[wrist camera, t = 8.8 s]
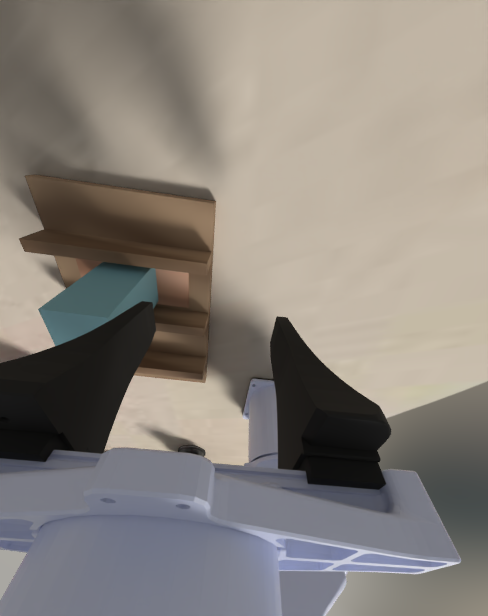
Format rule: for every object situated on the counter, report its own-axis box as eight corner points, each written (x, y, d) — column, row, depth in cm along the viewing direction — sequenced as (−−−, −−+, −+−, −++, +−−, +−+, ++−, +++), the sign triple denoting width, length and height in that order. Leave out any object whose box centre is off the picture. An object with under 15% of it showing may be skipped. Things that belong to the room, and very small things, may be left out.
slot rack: (206, 376, 31) (201, 400, 28) (100, 365, 30) (84, 387, 27) (215, 201, 18) (208, 210, 15) (35, 174, 17) (-8, 179, 15)
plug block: (158, 300, 22) (119, 362, 16) (117, 295, 22) (60, 356, 16) (154, 263, 20) (107, 317, 14) (109, 257, 20) (38, 309, 13)
